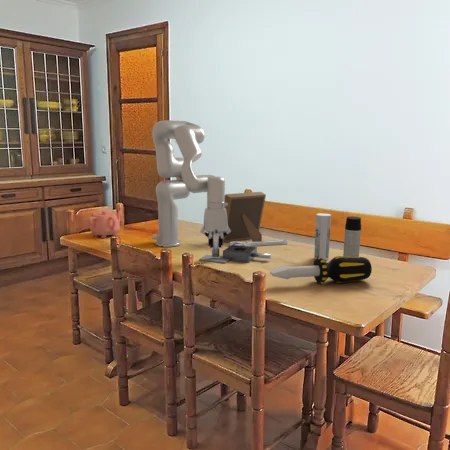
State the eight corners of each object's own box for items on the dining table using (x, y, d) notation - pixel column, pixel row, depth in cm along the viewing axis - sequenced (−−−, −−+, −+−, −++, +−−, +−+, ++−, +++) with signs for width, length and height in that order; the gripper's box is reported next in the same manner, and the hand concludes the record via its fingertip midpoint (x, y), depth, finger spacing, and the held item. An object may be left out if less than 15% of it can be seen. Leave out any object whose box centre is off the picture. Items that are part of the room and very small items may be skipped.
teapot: (92, 232, 257) (91, 208, 254) (123, 232, 259) (123, 208, 256) (87, 239, 241) (86, 213, 239) (121, 238, 243) (120, 213, 241)
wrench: (290, 241, 233) (233, 245, 224) (290, 245, 233) (233, 249, 224) (284, 238, 240) (228, 241, 232) (284, 241, 241) (228, 245, 232)
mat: (199, 260, 204) (199, 259, 204) (206, 255, 212) (206, 254, 212) (225, 263, 200) (225, 262, 200) (231, 258, 208) (231, 257, 208)
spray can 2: (313, 256, 213) (315, 213, 209) (327, 256, 213) (329, 213, 209) (314, 260, 207) (317, 215, 203) (329, 260, 206) (332, 216, 202)
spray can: (359, 261, 205) (362, 216, 201) (358, 265, 199) (361, 219, 195) (343, 260, 207) (346, 215, 203) (342, 264, 201) (344, 218, 197)
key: (210, 254, 208) (210, 228, 206) (218, 254, 209) (218, 227, 206) (212, 258, 202) (212, 230, 200) (220, 257, 203) (220, 230, 201)
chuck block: (222, 259, 206) (222, 250, 205) (231, 253, 217) (232, 244, 216) (266, 264, 199) (266, 255, 198) (273, 257, 210) (274, 249, 209)
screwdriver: (275, 291, 166) (276, 264, 164) (266, 282, 176) (267, 256, 174) (374, 284, 175) (376, 258, 173) (360, 276, 185) (362, 251, 182)
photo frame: (218, 241, 240) (219, 192, 235) (253, 236, 251) (254, 190, 246) (234, 247, 228) (235, 196, 223) (269, 242, 239) (271, 194, 234)
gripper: (233, 204, 206) (232, 244, 210) (195, 204, 204) (195, 245, 207) (236, 206, 199) (235, 248, 203) (197, 207, 196) (197, 249, 200)
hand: (215, 246), depth 205 cm, fingers closed on key, 3 cm apart
